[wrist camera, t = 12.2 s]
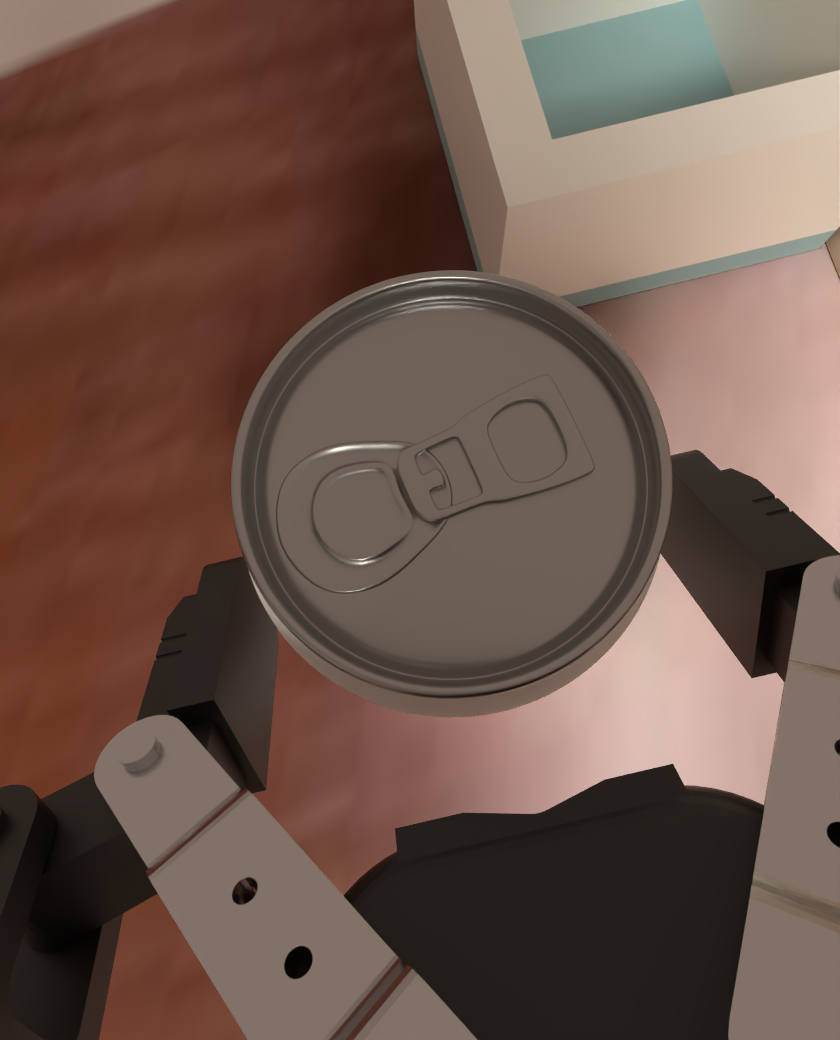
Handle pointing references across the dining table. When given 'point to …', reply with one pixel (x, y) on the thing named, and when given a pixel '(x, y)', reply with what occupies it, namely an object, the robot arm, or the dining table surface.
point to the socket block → (635, 135)
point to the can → (451, 492)
